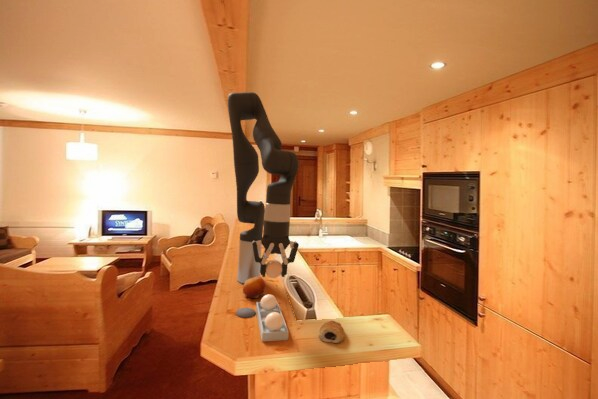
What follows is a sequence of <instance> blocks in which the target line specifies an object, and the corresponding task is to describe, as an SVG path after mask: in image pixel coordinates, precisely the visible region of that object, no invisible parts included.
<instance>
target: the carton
mask: <svg viewBox="0 0 598 399" xmlns="http://www.w3.org/2000/svg"><path fill="white" fill-rule="evenodd" d="M260 302H261V301H256V303H255V304H256V306H255V312H256V315H257V322H258V327H259V333H260V338H261V342H274V341H275V342H276V341H288V340H289V333H290V330H289V329H288V326H287V324H286V321H285V317H284V315H283V312H282V309H281V307H280V304H279V301H277V305H276V307H275V309H274V310H267V311H264V310H263V309H262V308H261V305H260ZM272 312H277V313H279V314H281V316H282V317H283V321H284V323H283V327H282V328H281V330H279V331H276V332H270V331H268V330H267V329H266V327H265V318H266V317H267V315H268V314H270V313H272Z"/></svg>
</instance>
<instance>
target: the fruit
mask: <svg viewBox="0 0 598 399" xmlns="http://www.w3.org/2000/svg"><path fill="white" fill-rule="evenodd" d="M265 283H266V281H265V280H264V278H263V277H261V276H260V277H257V276H256V277H253V278H250V279H248V280H246V282H245V283H243V287H242V293H243V294H244V295H245V296H246V297H247V298H249V299H254V298H256V299H259V297H260V296H265V295H264V291H265V288H266V284H265Z"/></svg>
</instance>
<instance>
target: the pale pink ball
mask: <svg viewBox="0 0 598 399" xmlns="http://www.w3.org/2000/svg"><path fill="white" fill-rule="evenodd" d="M265 264H266V272H265V275H266V276H268V277H269V278H270V279H271V278H272V279H276V278H278V277H280V276H281V273H282V270H283V268H282V262H280V260H277V259H271V260H269V261H267V262H266V263H265Z"/></svg>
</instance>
